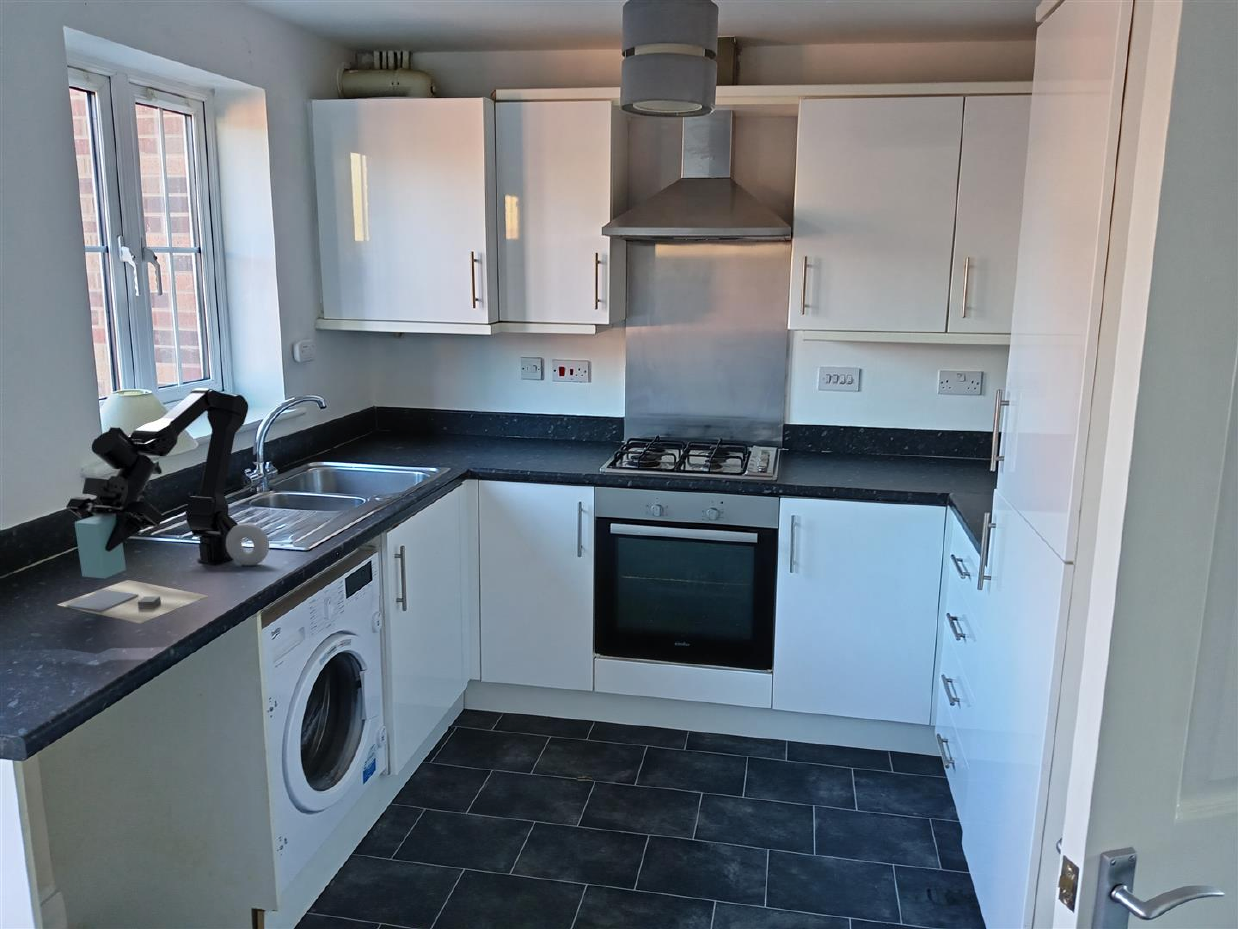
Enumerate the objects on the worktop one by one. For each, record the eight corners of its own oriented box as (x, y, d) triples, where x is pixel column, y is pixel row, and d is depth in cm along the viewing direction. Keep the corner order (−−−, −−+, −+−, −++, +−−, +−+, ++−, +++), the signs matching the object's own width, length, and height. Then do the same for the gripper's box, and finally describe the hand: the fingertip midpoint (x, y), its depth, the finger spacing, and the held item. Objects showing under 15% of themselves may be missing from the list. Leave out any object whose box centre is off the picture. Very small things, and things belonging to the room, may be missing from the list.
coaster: (104, 591, 194) (103, 590, 194) (138, 596, 191) (138, 594, 191) (66, 607, 186) (66, 605, 185) (102, 612, 183) (101, 610, 183)
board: (128, 586, 201) (127, 573, 201) (209, 602, 191) (208, 588, 191) (57, 611, 187) (55, 597, 187) (140, 631, 177) (138, 616, 176)
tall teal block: (103, 567, 190) (96, 514, 187) (125, 569, 188) (118, 516, 186) (82, 576, 185) (74, 522, 182) (104, 578, 183) (97, 524, 181)
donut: (225, 567, 213) (220, 524, 211) (232, 562, 216) (228, 520, 214) (267, 568, 212) (263, 525, 210) (274, 563, 216) (270, 521, 213)
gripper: (67, 458, 188) (27, 526, 180) (144, 462, 183) (107, 533, 175) (103, 486, 197) (67, 553, 189) (177, 492, 192) (144, 560, 184)
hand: (95, 549), depth 184 cm, fingers closed on tall teal block, 5 cm apart
